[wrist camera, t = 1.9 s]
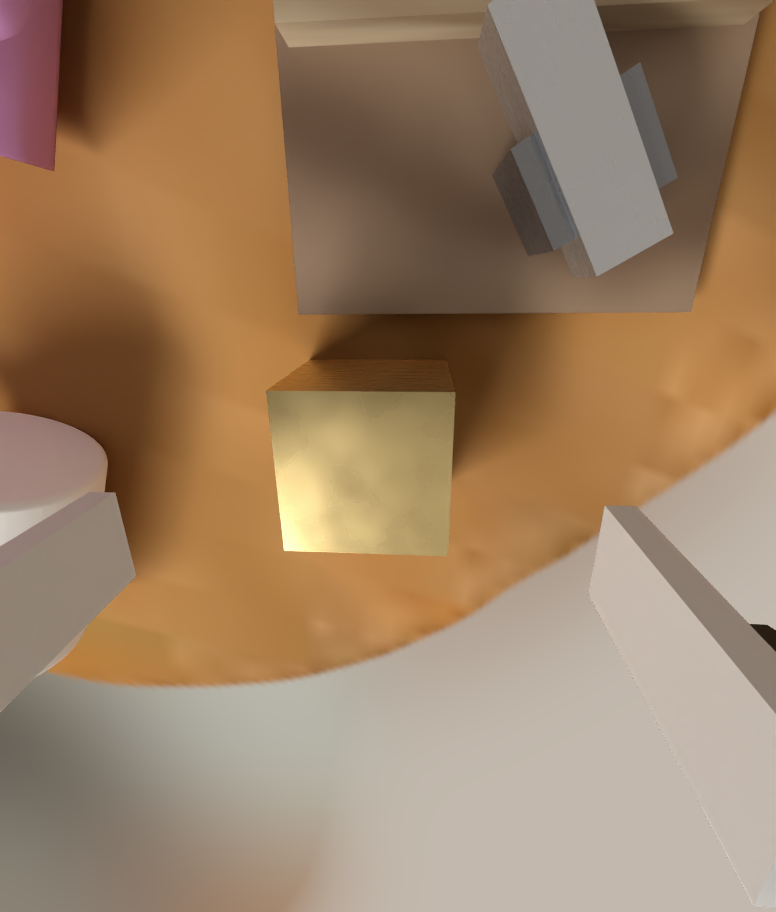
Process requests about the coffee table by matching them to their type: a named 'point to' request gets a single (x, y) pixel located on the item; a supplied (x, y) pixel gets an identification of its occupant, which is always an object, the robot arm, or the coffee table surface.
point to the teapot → (29, 79)
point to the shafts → (575, 135)
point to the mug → (44, 475)
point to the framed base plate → (480, 156)
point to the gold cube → (364, 456)
